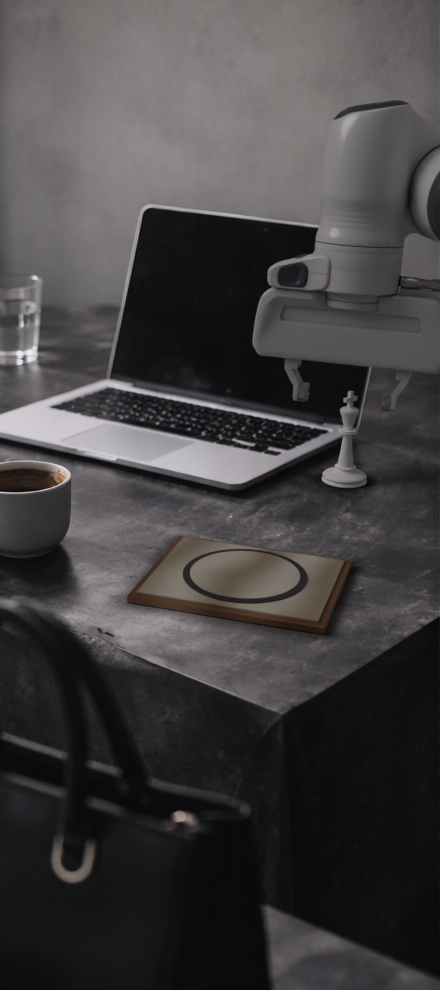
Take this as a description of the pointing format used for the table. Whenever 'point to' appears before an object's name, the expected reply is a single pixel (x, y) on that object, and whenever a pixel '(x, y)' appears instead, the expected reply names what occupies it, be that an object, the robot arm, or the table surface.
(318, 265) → the robot arm
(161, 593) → the wooden board
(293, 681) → the table surface
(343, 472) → the chess piece
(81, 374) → the table surface
